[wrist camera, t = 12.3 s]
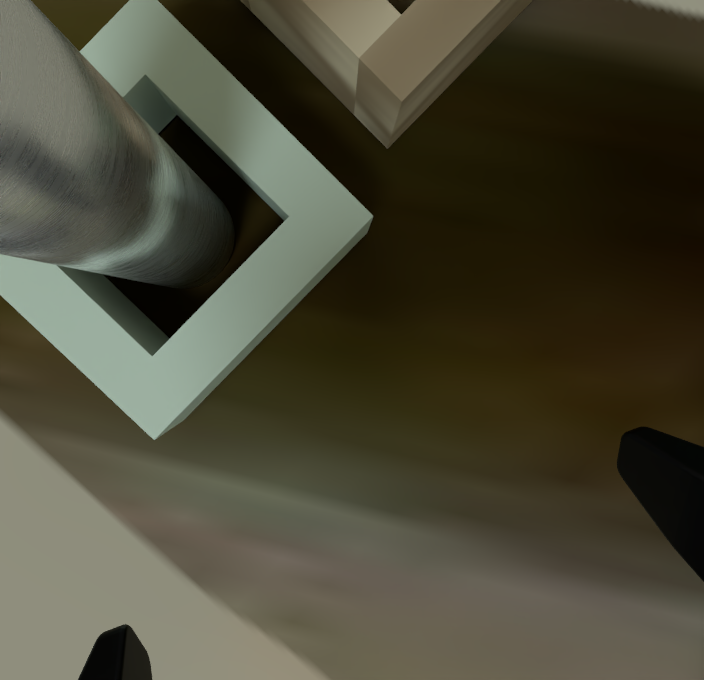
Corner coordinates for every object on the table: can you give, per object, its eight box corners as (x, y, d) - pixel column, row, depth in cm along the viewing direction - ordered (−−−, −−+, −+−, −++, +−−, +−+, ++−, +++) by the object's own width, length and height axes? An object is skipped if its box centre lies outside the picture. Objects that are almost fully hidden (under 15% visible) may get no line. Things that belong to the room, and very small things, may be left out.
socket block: (367, 232, 18) (373, 216, 15) (183, 420, 19) (153, 440, 16) (175, 41, 18) (143, -14, 15) (-13, 234, 18) (-82, 217, 15)
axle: (256, 234, 18) (7, -35, 4) (182, 310, 18) (-300, 283, 4) (179, 159, 18) (-338, -373, 4) (104, 235, 18) (-656, -41, 4)
